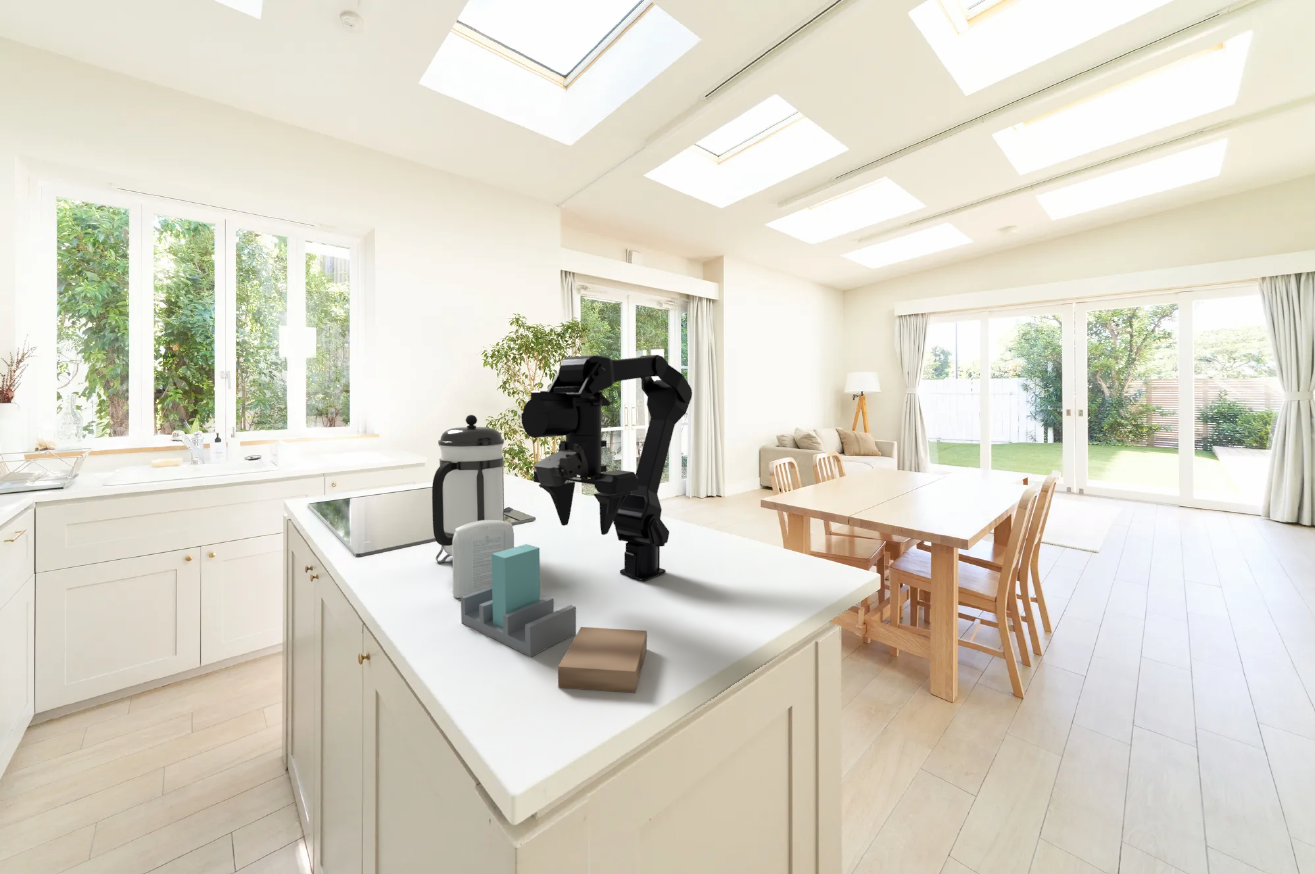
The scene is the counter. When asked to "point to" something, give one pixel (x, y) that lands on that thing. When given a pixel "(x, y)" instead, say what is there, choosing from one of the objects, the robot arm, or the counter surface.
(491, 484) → the coffee press
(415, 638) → the counter surface
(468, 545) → the grey rounded slab
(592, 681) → the brown block
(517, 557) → the thick teal slab
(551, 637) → the rack
